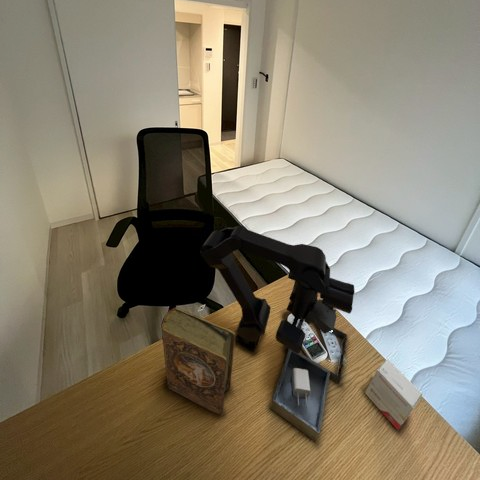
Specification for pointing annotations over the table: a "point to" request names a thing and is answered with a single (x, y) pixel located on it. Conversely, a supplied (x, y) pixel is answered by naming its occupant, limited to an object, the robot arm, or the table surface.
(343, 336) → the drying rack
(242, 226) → the robot arm
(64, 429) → the table surface
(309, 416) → the sink
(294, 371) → the usb wall charger
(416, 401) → the ink box
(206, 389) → the book
